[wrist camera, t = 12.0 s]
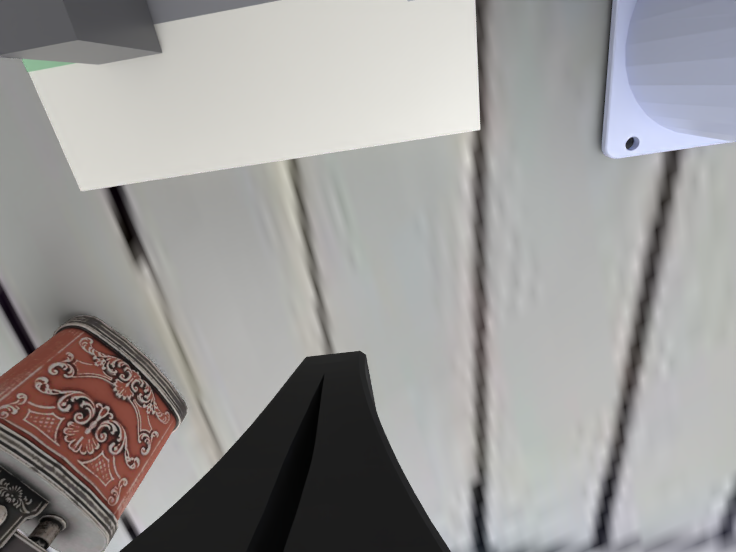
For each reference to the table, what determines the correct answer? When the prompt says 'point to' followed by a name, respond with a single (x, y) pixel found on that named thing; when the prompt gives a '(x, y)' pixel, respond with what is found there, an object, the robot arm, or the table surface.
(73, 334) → the lighter
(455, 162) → the table surface
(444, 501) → the table surface
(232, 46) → the switch plate
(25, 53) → the on handle
